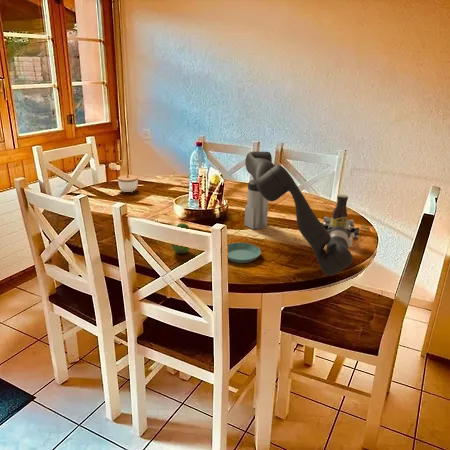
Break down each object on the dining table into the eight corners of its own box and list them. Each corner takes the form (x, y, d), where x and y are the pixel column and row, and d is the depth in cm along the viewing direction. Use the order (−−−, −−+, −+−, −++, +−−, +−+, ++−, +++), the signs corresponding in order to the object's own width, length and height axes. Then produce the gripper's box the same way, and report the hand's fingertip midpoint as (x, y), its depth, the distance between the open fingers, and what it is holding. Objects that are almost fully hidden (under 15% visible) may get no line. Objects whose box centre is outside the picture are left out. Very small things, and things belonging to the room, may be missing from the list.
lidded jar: (122, 187, 236) (121, 171, 233) (141, 188, 235) (140, 172, 232) (115, 193, 226) (114, 176, 223) (134, 194, 225) (133, 177, 222)
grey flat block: (349, 228, 186) (349, 227, 186) (326, 225, 189) (326, 224, 189) (349, 220, 195) (349, 220, 195) (327, 218, 198) (327, 217, 198)
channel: (351, 246, 168) (353, 235, 166) (320, 242, 171) (321, 231, 169) (352, 230, 184) (353, 219, 182) (323, 227, 187) (324, 216, 185)
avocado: (193, 256, 157) (193, 226, 152) (172, 257, 155) (171, 227, 151) (190, 247, 164) (190, 218, 160) (170, 248, 162) (169, 220, 158)
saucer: (221, 265, 151) (221, 259, 150) (221, 248, 164) (221, 242, 164) (262, 266, 151) (262, 259, 150) (258, 248, 165) (259, 242, 164)
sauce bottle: (335, 246, 168) (341, 199, 161) (324, 240, 173) (330, 194, 166) (347, 243, 171) (353, 197, 164) (336, 237, 176) (342, 192, 169)
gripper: (316, 247, 150) (320, 230, 164) (357, 253, 146) (357, 235, 161) (318, 228, 147) (322, 212, 162) (360, 233, 144) (360, 217, 158)
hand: (339, 224), depth 161 cm, fingers open, 8 cm apart
